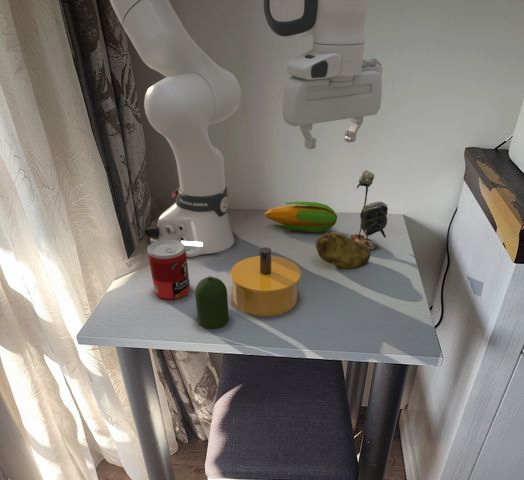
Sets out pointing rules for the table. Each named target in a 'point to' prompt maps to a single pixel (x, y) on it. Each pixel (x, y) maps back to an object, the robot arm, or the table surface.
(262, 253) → the lid
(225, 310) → the avocado
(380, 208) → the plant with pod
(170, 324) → the table surface
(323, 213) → the corn
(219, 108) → the robot arm
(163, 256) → the canned food
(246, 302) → the pot
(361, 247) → the potato
